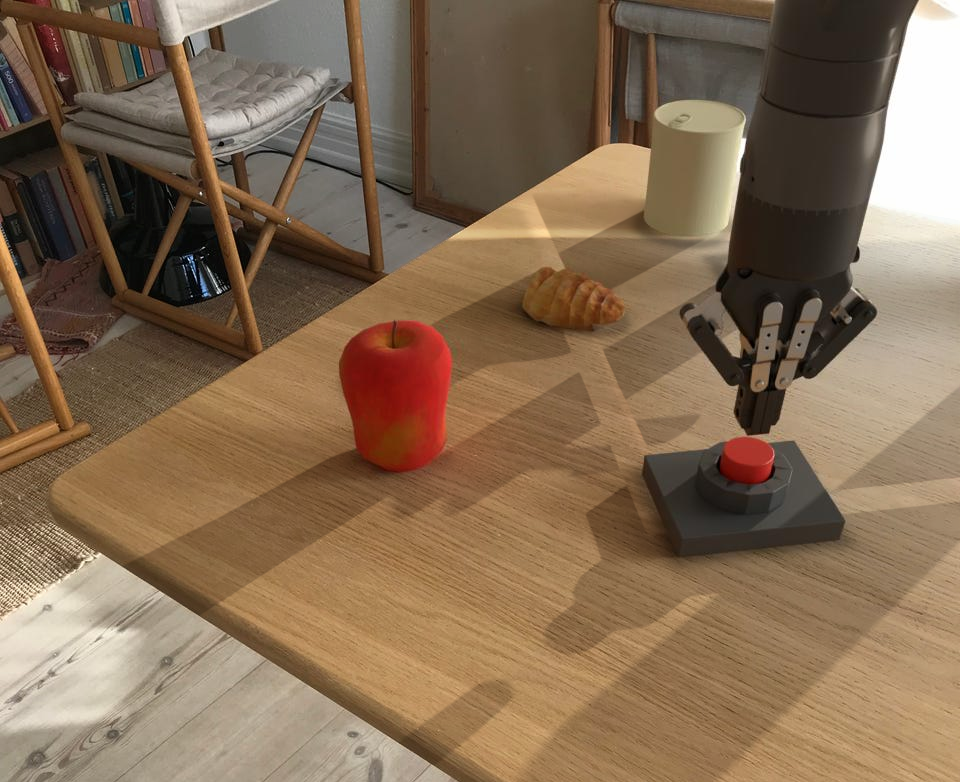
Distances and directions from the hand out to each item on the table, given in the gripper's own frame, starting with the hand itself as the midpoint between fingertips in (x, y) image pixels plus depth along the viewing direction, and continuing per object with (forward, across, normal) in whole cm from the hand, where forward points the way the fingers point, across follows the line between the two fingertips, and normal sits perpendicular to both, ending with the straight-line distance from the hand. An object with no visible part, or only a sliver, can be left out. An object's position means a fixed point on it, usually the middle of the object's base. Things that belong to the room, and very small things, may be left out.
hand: (754, 428), depth 73 cm
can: (+8, +10, +47) cm, 48 cm away
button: (+3, 0, 0) cm, 4 cm away
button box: (+7, 0, 0) cm, 7 cm away
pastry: (+7, -6, +31) cm, 32 cm away
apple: (+7, -24, +11) cm, 27 cm away
